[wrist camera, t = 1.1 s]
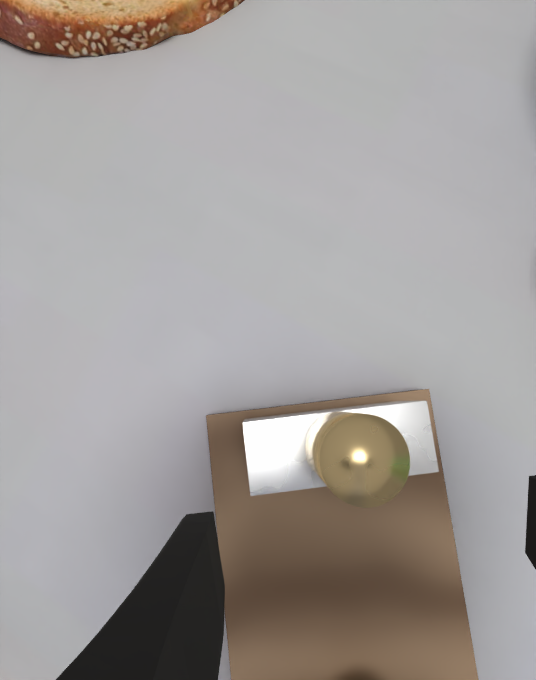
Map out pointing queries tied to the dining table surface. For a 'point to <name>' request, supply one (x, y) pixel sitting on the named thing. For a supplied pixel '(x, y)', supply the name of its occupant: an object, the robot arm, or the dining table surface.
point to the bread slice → (102, 23)
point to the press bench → (337, 571)
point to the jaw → (341, 451)
